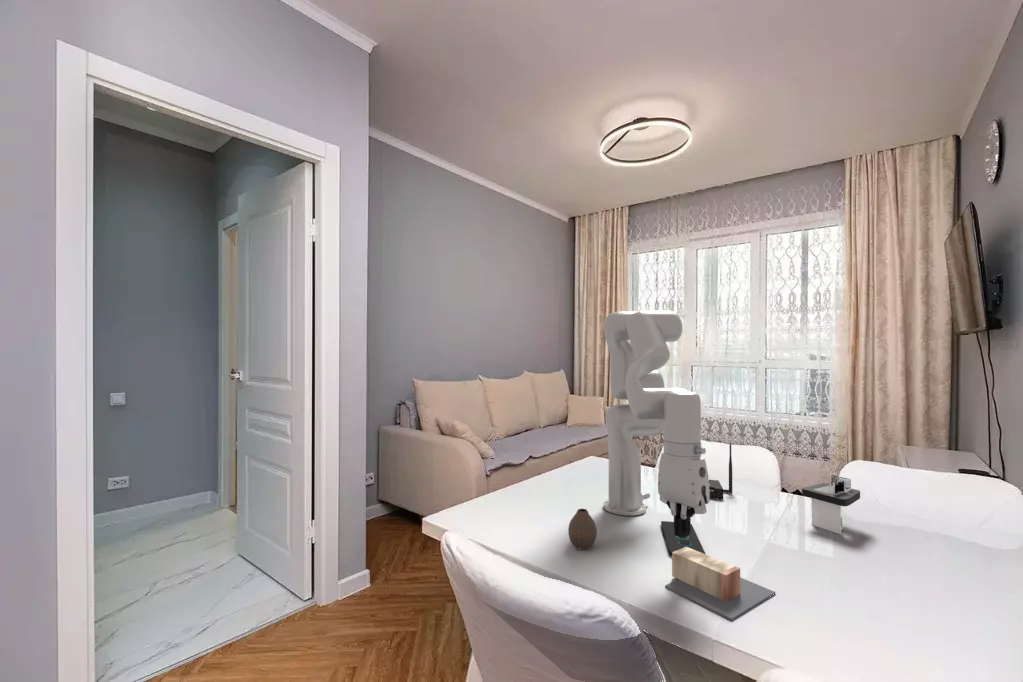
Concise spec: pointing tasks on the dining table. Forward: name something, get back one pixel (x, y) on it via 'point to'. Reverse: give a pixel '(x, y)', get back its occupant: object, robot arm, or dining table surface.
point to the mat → (730, 609)
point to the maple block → (706, 573)
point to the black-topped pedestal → (830, 502)
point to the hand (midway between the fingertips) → (682, 535)
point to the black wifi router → (716, 487)
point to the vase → (582, 530)
